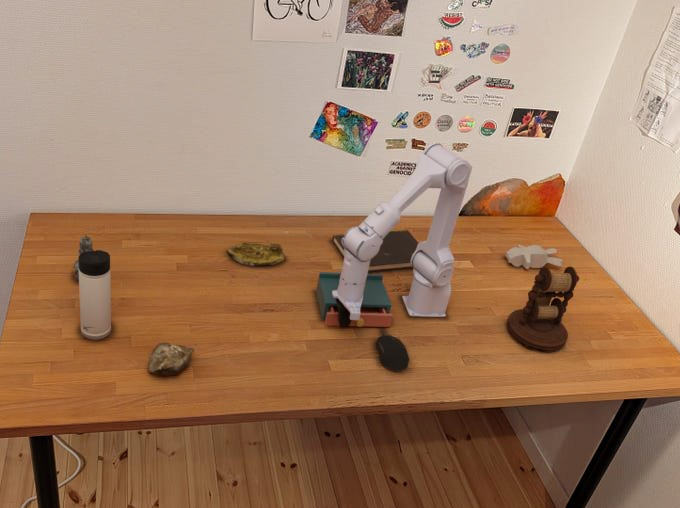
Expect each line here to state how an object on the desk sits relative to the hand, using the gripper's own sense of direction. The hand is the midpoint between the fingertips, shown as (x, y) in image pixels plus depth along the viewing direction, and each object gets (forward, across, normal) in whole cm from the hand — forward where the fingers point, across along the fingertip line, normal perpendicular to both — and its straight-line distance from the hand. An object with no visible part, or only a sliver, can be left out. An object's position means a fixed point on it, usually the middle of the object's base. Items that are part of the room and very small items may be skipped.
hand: (343, 325), depth 173 cm
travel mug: (+2, +2, -55) cm, 55 cm away
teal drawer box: (+2, -10, +4) cm, 11 cm away
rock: (+2, +13, -39) cm, 41 cm away
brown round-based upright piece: (+2, 0, +49) cm, 49 cm away
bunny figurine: (+2, -32, +61) cm, 69 cm away
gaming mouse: (+2, +7, +10) cm, 12 cm away
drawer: (+1, -6, +4) cm, 7 cm away
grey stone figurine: (+2, -18, -59) cm, 62 cm away
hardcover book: (+2, -34, +17) cm, 38 cm away
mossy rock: (+2, -30, -18) cm, 35 cm away
